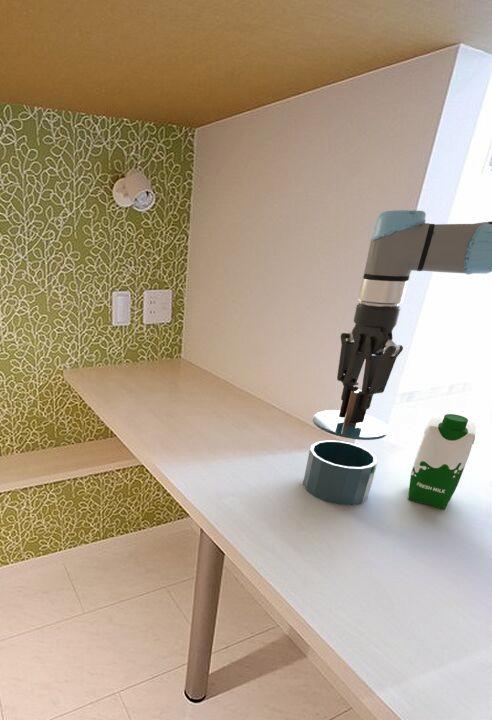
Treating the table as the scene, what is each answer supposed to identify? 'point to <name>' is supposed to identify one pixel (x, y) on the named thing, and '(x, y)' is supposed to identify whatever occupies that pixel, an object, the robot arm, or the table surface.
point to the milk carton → (441, 459)
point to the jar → (339, 472)
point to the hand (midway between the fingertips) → (350, 419)
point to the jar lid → (345, 428)
